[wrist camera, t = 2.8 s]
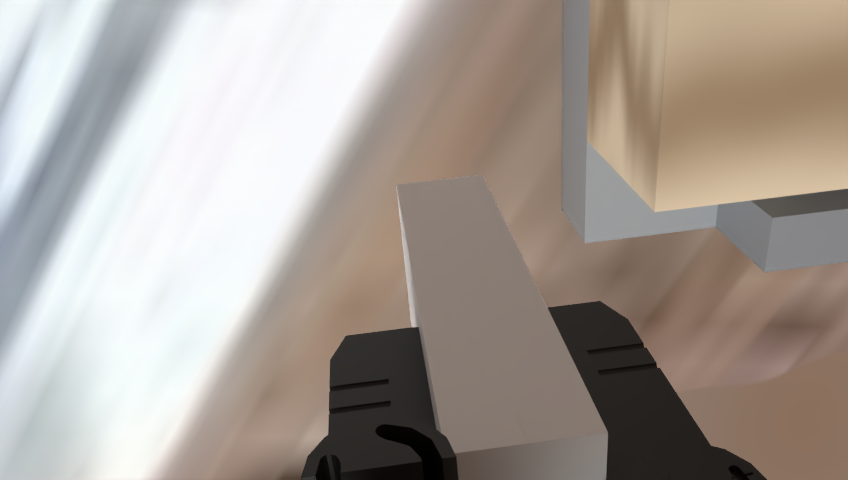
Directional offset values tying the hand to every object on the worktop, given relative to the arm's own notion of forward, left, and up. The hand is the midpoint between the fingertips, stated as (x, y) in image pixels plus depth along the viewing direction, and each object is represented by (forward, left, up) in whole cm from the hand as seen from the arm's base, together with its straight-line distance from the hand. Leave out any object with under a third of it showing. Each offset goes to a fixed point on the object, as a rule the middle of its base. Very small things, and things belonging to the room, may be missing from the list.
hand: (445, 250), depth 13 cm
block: (0, +9, -12) cm, 15 cm away
